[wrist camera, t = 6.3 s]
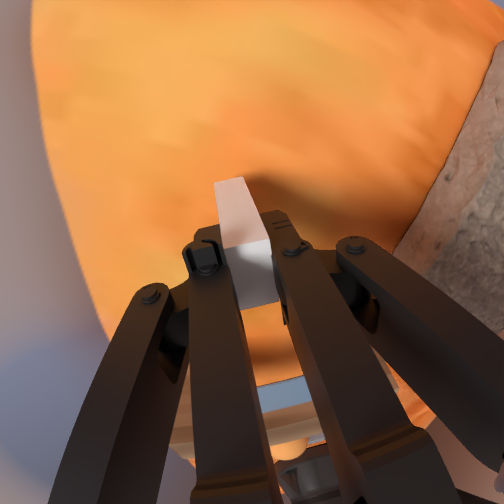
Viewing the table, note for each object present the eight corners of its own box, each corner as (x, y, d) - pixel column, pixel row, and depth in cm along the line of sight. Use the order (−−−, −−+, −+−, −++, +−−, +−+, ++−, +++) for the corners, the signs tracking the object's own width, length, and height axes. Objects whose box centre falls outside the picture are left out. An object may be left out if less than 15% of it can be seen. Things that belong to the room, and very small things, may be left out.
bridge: (345, 321, 25) (390, 408, 17) (180, 360, 24) (183, 459, 17) (346, 296, 23) (399, 387, 16) (168, 338, 23) (166, 444, 15)
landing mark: (327, 415, 35) (327, 416, 35) (238, 437, 34) (238, 438, 34) (330, 367, 28) (331, 368, 28) (214, 395, 28) (214, 397, 28)
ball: (308, 442, 33) (316, 460, 28) (267, 452, 33) (269, 472, 28) (300, 407, 34) (308, 422, 29) (257, 418, 34) (259, 434, 29)
